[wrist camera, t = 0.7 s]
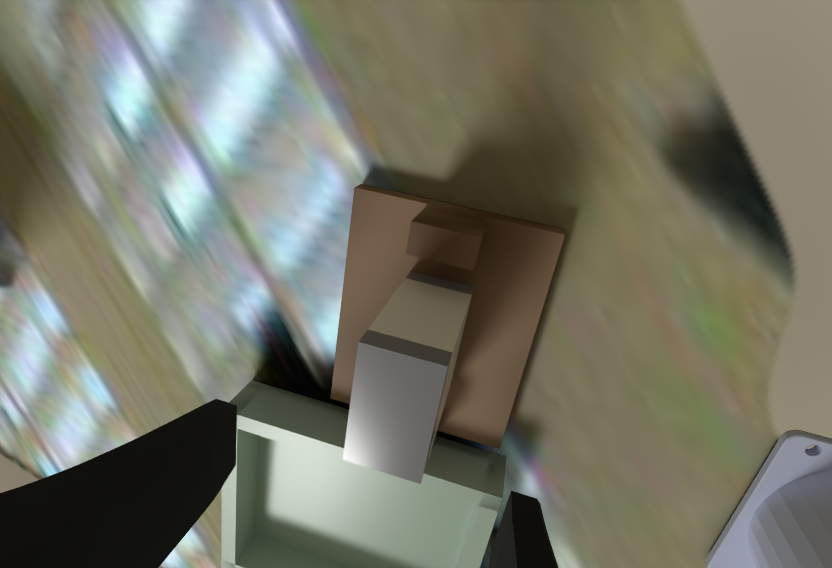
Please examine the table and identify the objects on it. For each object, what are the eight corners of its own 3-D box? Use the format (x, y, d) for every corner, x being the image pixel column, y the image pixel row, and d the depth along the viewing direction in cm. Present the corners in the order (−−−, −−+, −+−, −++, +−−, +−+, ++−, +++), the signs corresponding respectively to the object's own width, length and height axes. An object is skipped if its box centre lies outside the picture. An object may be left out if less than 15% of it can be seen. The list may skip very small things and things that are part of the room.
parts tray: (506, 457, 22) (502, 498, 20) (458, 606, 26) (451, 654, 24) (251, 380, 24) (221, 409, 22) (247, 531, 28) (221, 569, 26)
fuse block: (563, 229, 18) (568, 251, 15) (500, 437, 22) (495, 482, 19) (361, 184, 19) (334, 197, 16) (336, 388, 23) (311, 425, 20)
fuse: (474, 287, 18) (447, 366, 13) (452, 380, 20) (420, 484, 15) (410, 271, 19) (358, 341, 13) (394, 363, 21) (342, 459, 15)
